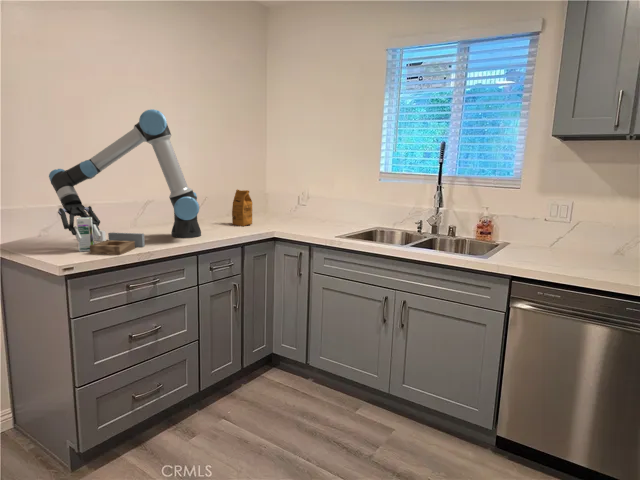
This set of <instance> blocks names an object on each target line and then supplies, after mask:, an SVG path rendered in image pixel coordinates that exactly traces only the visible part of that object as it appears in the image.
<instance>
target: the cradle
mask: <svg viewBox="0 0 640 480" xmlns="http://www.w3.org/2000/svg"><path fill="white" fill-rule="evenodd" d="M135 249H136V247H135V241H113V240H109V239H106V240H105V241H99V242H96V243H94V245H90V251H89V253H90V255H115V256H116V255H117V256H120V255H123V254H126V253H128V252H130V251H133V250H135Z"/></svg>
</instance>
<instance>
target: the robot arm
mask: <svg viewBox="0 0 640 480" xmlns="http://www.w3.org/2000/svg"><path fill="white" fill-rule="evenodd" d="M167 122H168V121H167V118H166V116H165V114H163V112H161V111H160V110H157V109H151V108H150V109H147V110H144V111H143V112H142V113H141V114H140V116H139V118H138V122H137V123H136V124H134V125H133V128H132V129H131V130H130V131H128V132H127V133H125V134H123V135H122V136H120V137H119V138H118V139H117V140H114V142H112V143H111V144H110V145H107V147H105V148H104V149H102V150H101V151H99V152H98V153H96V154H94V156H92V157H90V158H89V159H86V160H84V161H81V162H79V163H77V164H76V165H74V166H72V167H70V168H69V169H66V170H65V169H63V168H57V169H53V170H51V171H50V172H49V174H48V178H49V181H50V184H51V185H52V187H53V189H54V192H55V193H56V195H57V197H58V199H59V201H60V203H61V205H62V207H63V208H62V207H60V208H58V211H57V213H58V215H59V216H60V219H61V222H62V225H63V229H64V230H68V231H69V232H70V233H71V235H72V236H75V238H76V241H77V242H78V243H79V242H80V241H81V239H82V237H81V235H80V233H79V231H78V229H77V225H75V224H74V223H75V217H79V218H80V217H92V224H93V232H94V234H95V236H96V238H97V240H99V239H100V237H101V235H100V233H99V231H100V230H101V229H100V228H99V226H100V224H101V220H100V218H98V216H97V214H96V213H95V212H94V210H93V208H92V206H90V205H89V206H85V205H84V204H83V202H82V200H81V199H80V197H79V194H78V193H77V191H76V189H75V186H77V185H78V184H80V183H82V182H84V181H87V180H92V179H93V178H95V177H96V176H97V175H98V174H100V173H101V172H102V171H104V170H105V169H107V168H108V167H109V166H111V165H112V164H114V163H115V162H117V161H118V160H119V159H121V158H122V157H124V156H125V155H127V154H128V153H130V152H131V151H132V150H134V149H135V148H137V147H138V146H139V145H141V144H142V143H145V142H146V143H148V144H150V145H151V146H152V149H153V152H154V153H155V156H156V159H157V161H158V163H159V167H160V168H161V169H160V170H161V171H162V174H163V176H164V179H165V182H166V183H167V187H168V189H169V191H170V194H169V200H170V203H171V205H172V208H173V215H174V216H173V218H174V223H173V225H172V229H171V231H170V232H171V237H173V238H179V239H180V238H181V239H182V238H183V239H184V238H185V239H186V238H197V237H201V236H202V231H201V227H200V225H199V224H200V223H199V222H198V214H199V212H200V204H199V202H198V200H197V199H198V195H197V193H196V192H195V191H194V190H193V188H190V187H189V186H188V184H187V180H186V178H185V176H184V173H183V171H182V168H181V166H180V163H179V160H178V158H177V155H176V153H175V150H174V147H173V144H172V141H171V137H172V134H171V130H170V127H169V125H168V123H167ZM66 214H68V215H69V216H68V217H69V218H68V217H67V215H66ZM68 219H69V222H68Z"/></svg>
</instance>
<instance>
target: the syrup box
mask: <svg viewBox="0 0 640 480" xmlns="http://www.w3.org/2000/svg"><path fill="white" fill-rule="evenodd" d="M76 227H77V229H78V231H79V233H80V235H81V237H82V239H81V241H80V242H78V252H79V253H80V252H81V253H82V252H83V253H84V252H90V245H94V244H95V241H94V237H93V224H92V217H80V216H79V217H77V218H76Z"/></svg>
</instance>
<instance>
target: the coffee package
mask: <svg viewBox="0 0 640 480" xmlns="http://www.w3.org/2000/svg"><path fill="white" fill-rule="evenodd" d="M233 197H234V198H233V200H232V201H233V202H232V209H231V217H232V219H231V222H232V223H231V225H232V226H237V227H245V226H250V225H253V200H252V198H251V196H250V190H249V189H248V190H244V189H242V190H240V189H238V188H237V189H236V190H235V193H234V196H233Z"/></svg>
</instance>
